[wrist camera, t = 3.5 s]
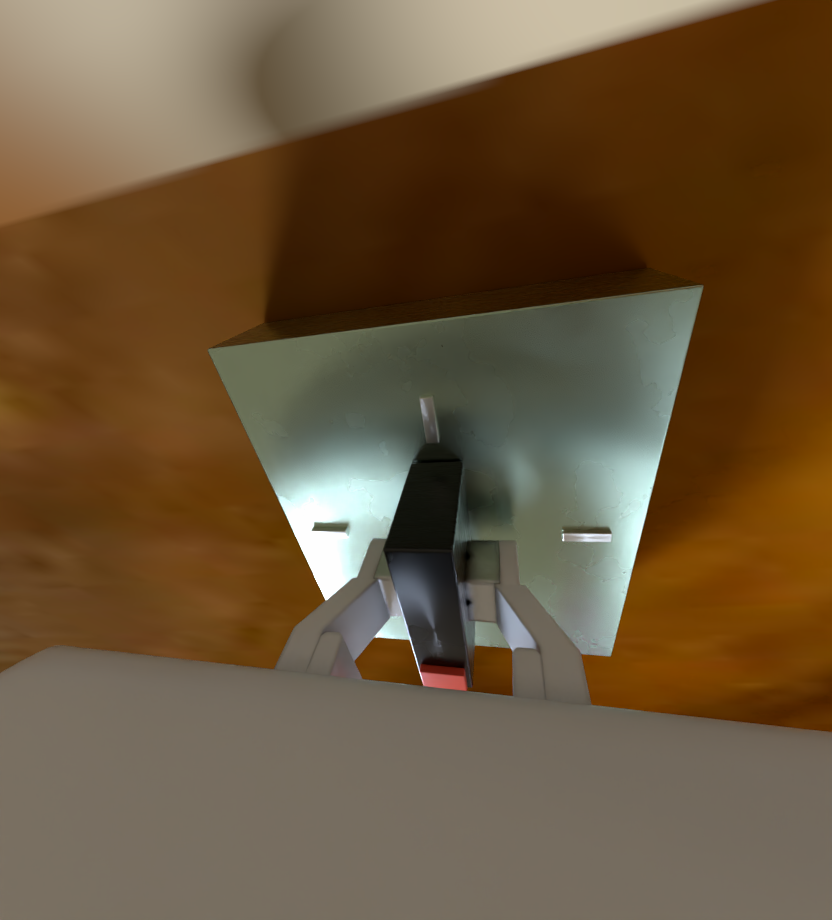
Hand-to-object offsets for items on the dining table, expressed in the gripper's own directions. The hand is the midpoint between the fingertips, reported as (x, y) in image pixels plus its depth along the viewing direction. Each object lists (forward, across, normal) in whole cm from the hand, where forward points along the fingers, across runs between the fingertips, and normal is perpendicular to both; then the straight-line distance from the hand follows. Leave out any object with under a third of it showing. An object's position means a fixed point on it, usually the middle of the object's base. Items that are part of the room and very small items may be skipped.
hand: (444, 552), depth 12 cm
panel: (+4, 0, 0) cm, 4 cm away
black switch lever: (+1, 0, 0) cm, 1 cm away
